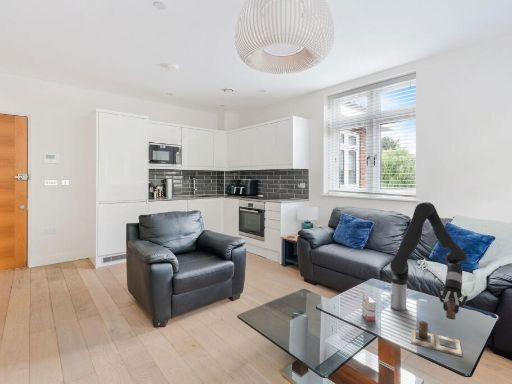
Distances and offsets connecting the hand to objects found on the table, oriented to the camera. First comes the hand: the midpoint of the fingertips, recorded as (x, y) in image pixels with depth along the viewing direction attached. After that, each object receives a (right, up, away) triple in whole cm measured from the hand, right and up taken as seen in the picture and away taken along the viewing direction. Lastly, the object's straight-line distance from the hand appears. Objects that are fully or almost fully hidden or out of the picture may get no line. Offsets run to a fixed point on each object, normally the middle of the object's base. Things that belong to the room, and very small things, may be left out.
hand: (450, 311), depth 145 cm
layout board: (-6, -18, +3) cm, 19 cm away
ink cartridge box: (-31, -17, +30) cm, 46 cm away
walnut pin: (+1, -4, +2) cm, 5 cm away
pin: (-11, -16, +6) cm, 21 cm away
